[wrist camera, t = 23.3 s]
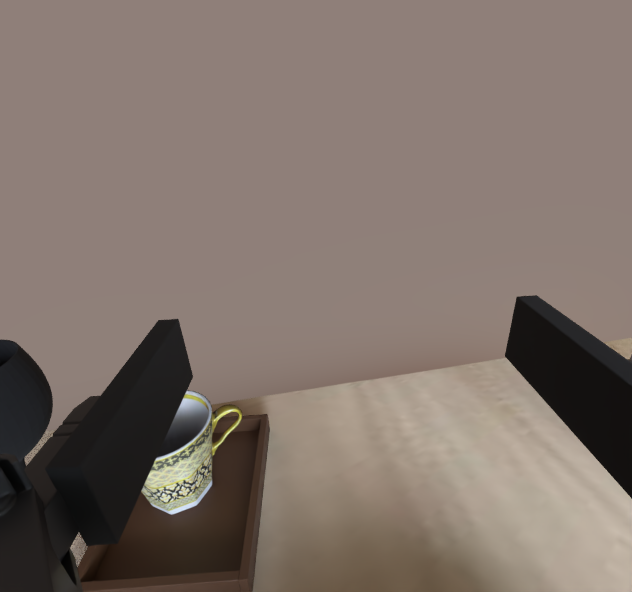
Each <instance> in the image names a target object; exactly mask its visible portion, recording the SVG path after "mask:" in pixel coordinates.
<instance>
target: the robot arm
mask: <svg viewBox="0 0 632 592" xmlns="http://www.w3.org/2000/svg"><path fill="white" fill-rule="evenodd" d="M505 357H506V358H507V359H508V360H509V361H510V362H511V363H512V365H513V366H514V367H515V368H516V369H517V370H518V371H519V372H520V373H521V375H522V376H523V377H524V378H525V379H526V380H527V381H528V382H529V384H530V385H531V386H532V387H533V388H534V389H535V390H536V391H537V393H538V394H539V395H540V396H541V397H542V398H543V399H544V400H545V402H546V403H547V404H548V405H549V406H550V407H551V408H552V409H553V411H554V412H555V413H556V414H557V415H558V416H559V417H560V418H561V419H562V421H563V422H564V423H565V424H566V425H567V426H568V427H569V428H570V430H571V431H572V432H573V433H574V434H575V435H576V436H577V437H578V439H579V440H580V441H581V442H582V443H583V444H584V445H585V446H586V448H587V449H588V450H589V451H590V452H591V453H592V454H593V455H594V456H595V458H596V459H597V460H598V461H599V462H600V463H601V464H602V465H603V467H604V468H605V469H606V470H607V471H608V472H609V473H610V474H611V476H612V477H613V478H614V479H615V480H616V481H617V482H618V483H619V485H620V486H621V487H622V488H623V489H624V490H625V491H626V492H627V494H628V495H629V496H630V497H631V498H632V355H631V358H630V360H627V359H625V358H624V357H623V356H621V355H620V354H618V353H617V352H616V351H614V350H613V349H611V348H610V347H608V346H607V345H606V344H604V343H603V342H601V341H600V340H599V339H597V338H596V337H594V336H593V335H592V334H590V333H589V332H587V331H586V330H584V329H583V328H582V327H580V326H579V325H577V324H576V323H575V322H573V321H572V320H570V319H569V318H568V317H566V316H565V315H563V314H562V313H561V312H559V311H558V310H556V309H555V308H553V307H552V306H551V305H549V304H548V303H546V302H545V301H543V300H542V299H540V298H539V297H538V296H521V297H517V298H516V304H515V309H514V313H513V319H512V323H511V328H510V333H509V338H508V343H507V348H506V353H505ZM192 378H193V375H192V371H191V367H190V363H189V359H188V355H187V351H186V347H185V343H184V339H183V336H182V332H181V328H180V324H179V320H178V319H172V320H158V322H157V323H156V324H155V326H154V327H153V328H152V330H151V331H150V332H149V333H148V335H147V336H146V337H145V339H144V340H143V341H142V343H141V344H140V345H139V346H138V348H137V349H136V350H135V352H134V353H133V354H132V356H131V357H130V358H129V360H128V361H127V362H126V363H125V365H124V366H123V367H122V369H121V370H120V371H119V373H118V374H117V375H116V377H115V378H114V379H113V381H112V382H111V383H110V384H109V386H108V387H107V388H106V390H105V391H104V392H103V394H102V395H101V396H91V397H89V398H88V399H87V400H85V401H84V402H82V403H81V404H80V405H78V406H77V407H76V408H74V409H73V411H72V412H71V413H70V414H69V415H68V417H67V418H66V419H65V420H64V421H63V424H62V425H61V426H59V428H58V429H57V430H56V431H55V432H54V433H53V437H50V438H49V440H48V441H47V442H46V443H45V444H44V446H43V447H42V448H41V449H40V450H39V452H38V453H37V454H36V455H35V456H34V458H33V459H32V460H31V461H30V463H29V464H28V465H27V466H26V467H25V469H23V467H22V466H21V464H20V462H19V460H18V459H17V458H16V456H15V455H12V454H7V453H5V454H0V592H83V589H82V585H81V581H80V577H79V573H78V569H77V565H76V561H75V557H74V555H73V553H72V551H71V549H70V547H71V545H72V543H73V541H74V539H75V538H76V536H77V534H78V532H80V534H81V536H82V538H83V540H84V541H85V543H86V545H87V546H93V545H108V544H118V542H119V540H120V537H121V535H122V533H123V531H124V529H125V526H126V524H127V522H128V520H129V518H130V515H131V513H132V511H133V509H134V506H135V504H136V502H137V500H138V498H139V495H140V493H141V491H142V489H143V486H144V484H145V482H146V480H147V478H148V475H149V473H150V471H151V469H152V466H153V464H154V462H155V460H156V458H157V455H158V453H159V451H160V449H161V447H162V444H163V442H164V440H165V438H166V435H167V433H168V431H169V429H170V427H171V424H172V422H173V420H174V418H175V415H176V413H177V411H178V409H179V407H180V404H181V402H182V400H183V398H184V395H185V393H186V391H187V389H188V387H189V384H190V382H191V380H192Z"/></svg>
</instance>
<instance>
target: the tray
mask: <svg viewBox="0 0 632 592" xmlns="http://www.w3.org/2000/svg"><path fill="white" fill-rule="evenodd" d="M237 418H238V416H235V417H221V418H220V419H219V420H218V421H217V424H216V426H215V428H214V432H213V434H212V442H216V441H217V440H219V439H220V438H221V436H222V435H223V433H224V432H225V431H226V430H227V429H228V428H229V427H230V426H231V425H232V424H233V423H234V422H235V421H236V420H237ZM269 431H270V428H269V421H268V415H267V414H263V415H249V416H242V419H241V421H240V423H239V424H238V425H237V426H236V427H235V428H234V429H233V430H232V431H231V432H230V433H229V434H228V435H227V437H226V438H225V439H224V441H223V442H222V443H221V444H220V445H219V446H218V447H217V449H216V451H215V454H214V455H213V457H212V458H213V460H212V486H211V487H210V489H209V490H208V491H207V493H206V494H205V495H204V497H203V498H202V499H201V501H200V502H199V503H198V504H197V505H196V506H194V507H191V508H189V509H186V510H183V511H181V512H178V513H175V514H172V515H171V514H169V513H167V512H164V511H162V510H160V509H158V508H156V507H154V506H152V505H151V503H150V502H149V501H148V500H147V498H146V497H145V495H144V494H143V493H142V492H141V493H140V495H139V498H138V500H137V502H136V504H135V506H134V509H133V511H132V513H131V515H130V518H129V520H128V522H127V524H126V526H125V529H124V531H123V533H122V535H121V537H120V540H119V542H118V544H108V545H93V546H88V548H87V550H86V552H85V554H84V556H83V558H82V560H81V562H80V564H79V566H78V568H77V569H78V573H79V577H80V581H81V585H82V589H83V592H252V591H253V581H254V572H255V562H256V553H257V544H258V534H259V525H260V515H261V506H262V497H263V487H264V478H265V468H266V459H267V450H268V440H269Z"/></svg>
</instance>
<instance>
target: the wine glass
mask: <svg viewBox="0 0 632 592" xmlns="http://www.w3.org/2000/svg"><path fill="white" fill-rule="evenodd" d="M52 402H53V401H52V392H51V389H50V386H49V383H48V381H47V379H46V377H45V375H44V374H43V372H42V370H41V369H40V367H39V366H38V365H37V363H36V362H35V361H34V360H33V359H32V358H31V356H29V354H27V353H26V352H25V351H24V350H23V349H22V348H21V347H20V346H19V345H18V344H17V343H15V342H13V341H10V340H0V454H5V453H7V454H12V455H15V456H16V458H17V459H18V460H19V462H20V464H21V466H22V467H23V469H25V467H26V464H25V461H24V457H25V456H26V455H27V454H28V453H29V452H30V451H31V450H32V449H33V448H34V447H35V446H36V444H37V443H38V442H39V440H40V439H41V437H42V436H43V434H44V432H45V431H46V429H47V426H48V424H49V421H50V418H51V413H52V407H53V403H52Z"/></svg>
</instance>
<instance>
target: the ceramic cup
mask: <svg viewBox="0 0 632 592" xmlns="http://www.w3.org/2000/svg"><path fill="white" fill-rule="evenodd" d="M230 412H237V413H238V414H239V416H238V418H237V420H236V421H235V422H234V423H233V424H232V425H231V426H230V427H229V428H228V429H227V430H226V431H225V432H224V433H223V435H222V436H221V438H220V439H219V440H217V441H216V442H212V434H213V432H214V428H215V426H216V424H217V421H218V420H219V419H220V418H221V417H223V416H224V415H226V414H228V413H230ZM241 419H242V412H241V410H240V409H239V408H238V407H237V406H235V405H224V406H222V407H220V408H218V409H217V410H216V411H215V412H213V413H212V407H211V404H210V402H209V401H208V399H207V398H206V397H205V396H203V395H202V394H200V393H197V392H194V391H189V390H187V391H186V393H185V395H184V398H183V400H182V402H181V404H180V407H179V409H178V411H177V413H176V415H175V418H174V420H173V422H172V424H171V427H170V429H169V431H168V433H167V435H166V438H165V440H164V442H163V444H162V447H161V449H160V451H159V453H158V455H157V458H156V460H155V462H154V464H153V466H152V469H151V471H150V473H149V475H148V478H147V480H146V482H145V484H144V486H143V489H142V491H141V492H142V493H143V494H144V495H145V497H146V498H147V500H148V501H149V502H150V503H151V505H152V506H154V507H156V508H158V509H160V510H162V511H164V512H167V513H169V514H171V515H172V514H175V513H178V512H181V511H183V510H186V509H189V508H191V507H194V506H196V505H197V504H198V503H199V502H200V501H201V499H202V498H203V497H204V495H205V494H206V493H207V491H208V490H209V489H210V487H211V486H212V460H213V458H212V457H213V455H214V454H215V451H216V449H217V447H218V446H219V445H220V444H221V443H222V442H223V441H224V439H225V438H226V437H227V435H228V434H229V433H230V432H231V431H232V430H233V429H234V428H235V427H236V426H237V425H238V424H239V423H240V421H241Z"/></svg>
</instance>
